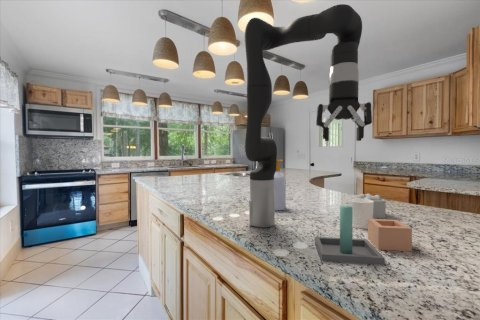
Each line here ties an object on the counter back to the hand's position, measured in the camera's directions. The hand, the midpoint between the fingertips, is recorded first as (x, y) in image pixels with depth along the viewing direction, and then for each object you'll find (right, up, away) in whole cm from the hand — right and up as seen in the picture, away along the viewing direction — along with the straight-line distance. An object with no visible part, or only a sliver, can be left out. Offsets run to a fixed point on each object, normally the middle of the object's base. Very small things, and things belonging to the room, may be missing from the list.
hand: (342, 140), depth 66 cm
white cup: (+14, -30, +17) cm, 37 cm away
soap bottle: (-11, -29, +47) cm, 56 cm away
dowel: (-1, -30, -5) cm, 30 cm away
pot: (+13, -30, 0) cm, 33 cm away
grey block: (+26, -29, +35) cm, 53 cm away
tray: (-1, -31, -5) cm, 31 cm away
